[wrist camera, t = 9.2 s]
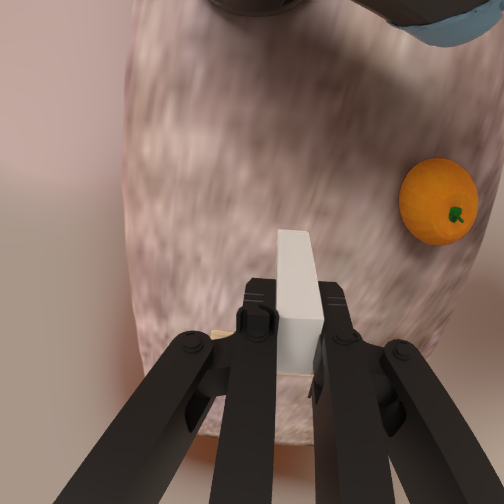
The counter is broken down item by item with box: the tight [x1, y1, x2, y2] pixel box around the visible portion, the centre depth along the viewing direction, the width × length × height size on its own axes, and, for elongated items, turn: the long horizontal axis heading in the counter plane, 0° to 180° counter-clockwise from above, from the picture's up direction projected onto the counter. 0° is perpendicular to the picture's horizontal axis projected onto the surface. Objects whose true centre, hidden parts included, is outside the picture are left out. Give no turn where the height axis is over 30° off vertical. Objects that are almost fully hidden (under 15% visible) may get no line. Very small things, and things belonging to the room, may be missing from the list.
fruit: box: [399, 158, 478, 246], centre depth 34 cm, size 12×12×10 cm
